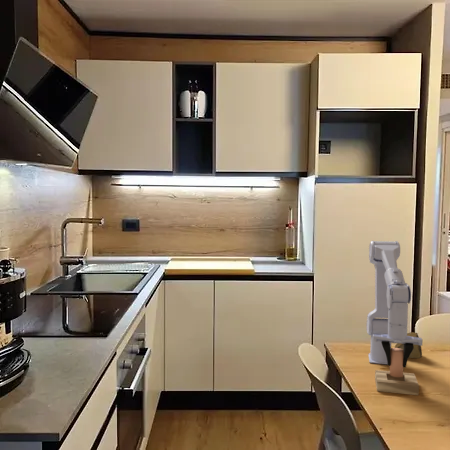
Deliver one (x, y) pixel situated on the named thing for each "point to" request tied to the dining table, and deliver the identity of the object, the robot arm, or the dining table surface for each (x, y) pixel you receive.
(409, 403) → the dining table surface
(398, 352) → the peg
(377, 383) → the socket block
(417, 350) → the rock
